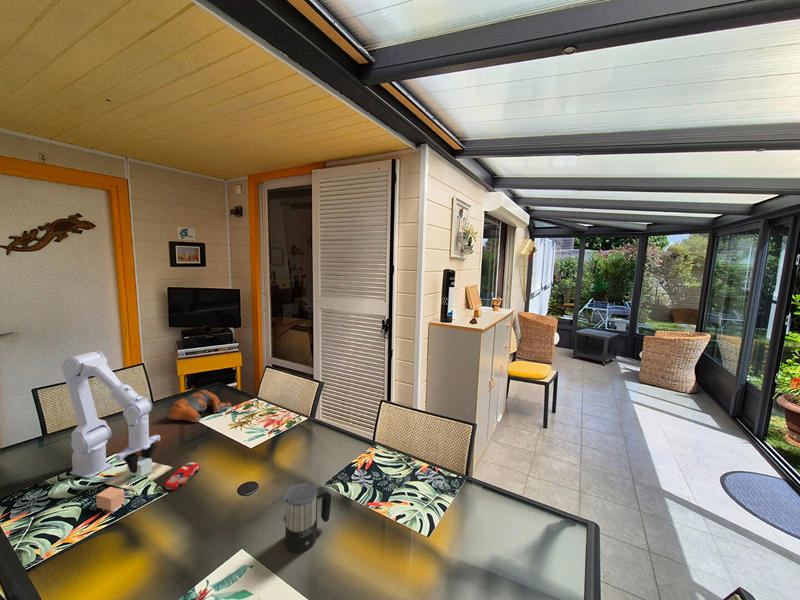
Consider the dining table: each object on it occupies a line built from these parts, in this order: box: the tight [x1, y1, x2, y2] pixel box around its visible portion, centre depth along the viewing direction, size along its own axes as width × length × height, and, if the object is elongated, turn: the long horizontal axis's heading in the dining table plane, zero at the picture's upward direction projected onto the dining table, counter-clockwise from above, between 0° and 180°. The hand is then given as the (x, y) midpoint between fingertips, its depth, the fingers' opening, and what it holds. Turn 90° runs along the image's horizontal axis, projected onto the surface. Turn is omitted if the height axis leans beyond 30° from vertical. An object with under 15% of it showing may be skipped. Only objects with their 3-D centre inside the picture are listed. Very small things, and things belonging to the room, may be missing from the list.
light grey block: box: [127, 455, 153, 477], centre depth 119 cm, size 6×4×4 cm, turn 77°
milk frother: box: [283, 482, 332, 554], centre depth 99 cm, size 14×16×15 cm
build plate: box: [104, 461, 174, 492], centre depth 120 cm, size 14×14×1 cm
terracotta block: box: [96, 486, 126, 512], centre depth 104 cm, size 6×4×4 cm, turn 77°
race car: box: [163, 461, 201, 491], centre depth 119 cm, size 13×5×4 cm, turn 172°
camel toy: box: [165, 389, 232, 423], centre depth 167 cm, size 25×13×17 cm
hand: (139, 468), depth 119 cm, fingers closed on light grey block, 4 cm apart
